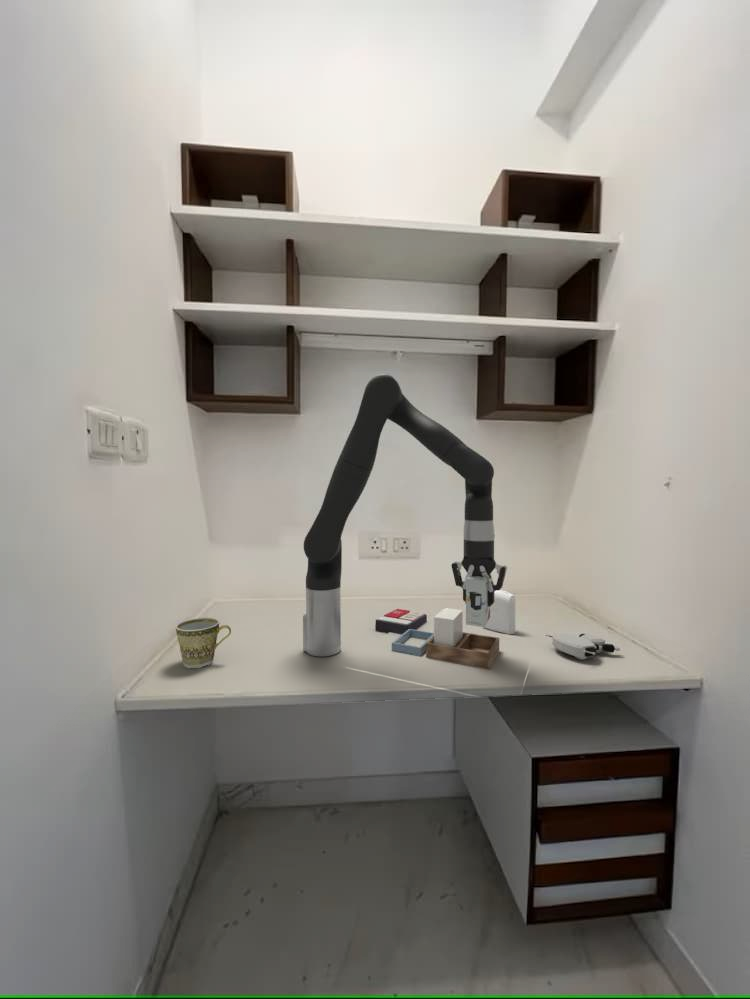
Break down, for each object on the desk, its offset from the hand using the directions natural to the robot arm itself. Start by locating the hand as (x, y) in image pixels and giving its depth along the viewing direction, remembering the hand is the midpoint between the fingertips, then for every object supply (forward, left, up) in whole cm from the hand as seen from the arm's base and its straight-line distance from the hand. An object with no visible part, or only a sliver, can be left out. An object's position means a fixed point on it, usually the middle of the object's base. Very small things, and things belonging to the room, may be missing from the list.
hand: (478, 604), depth 108 cm
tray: (-17, 0, -14) cm, 22 cm away
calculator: (-27, +14, -15) cm, 34 cm away
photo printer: (+1, +24, -14) cm, 28 cm away
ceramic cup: (-60, -33, -14) cm, 70 cm away
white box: (-8, 0, -13) cm, 15 cm away
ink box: (0, 0, -5) cm, 5 cm away
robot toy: (+24, +16, -14) cm, 32 cm away
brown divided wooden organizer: (-4, 0, -14) cm, 15 cm away
